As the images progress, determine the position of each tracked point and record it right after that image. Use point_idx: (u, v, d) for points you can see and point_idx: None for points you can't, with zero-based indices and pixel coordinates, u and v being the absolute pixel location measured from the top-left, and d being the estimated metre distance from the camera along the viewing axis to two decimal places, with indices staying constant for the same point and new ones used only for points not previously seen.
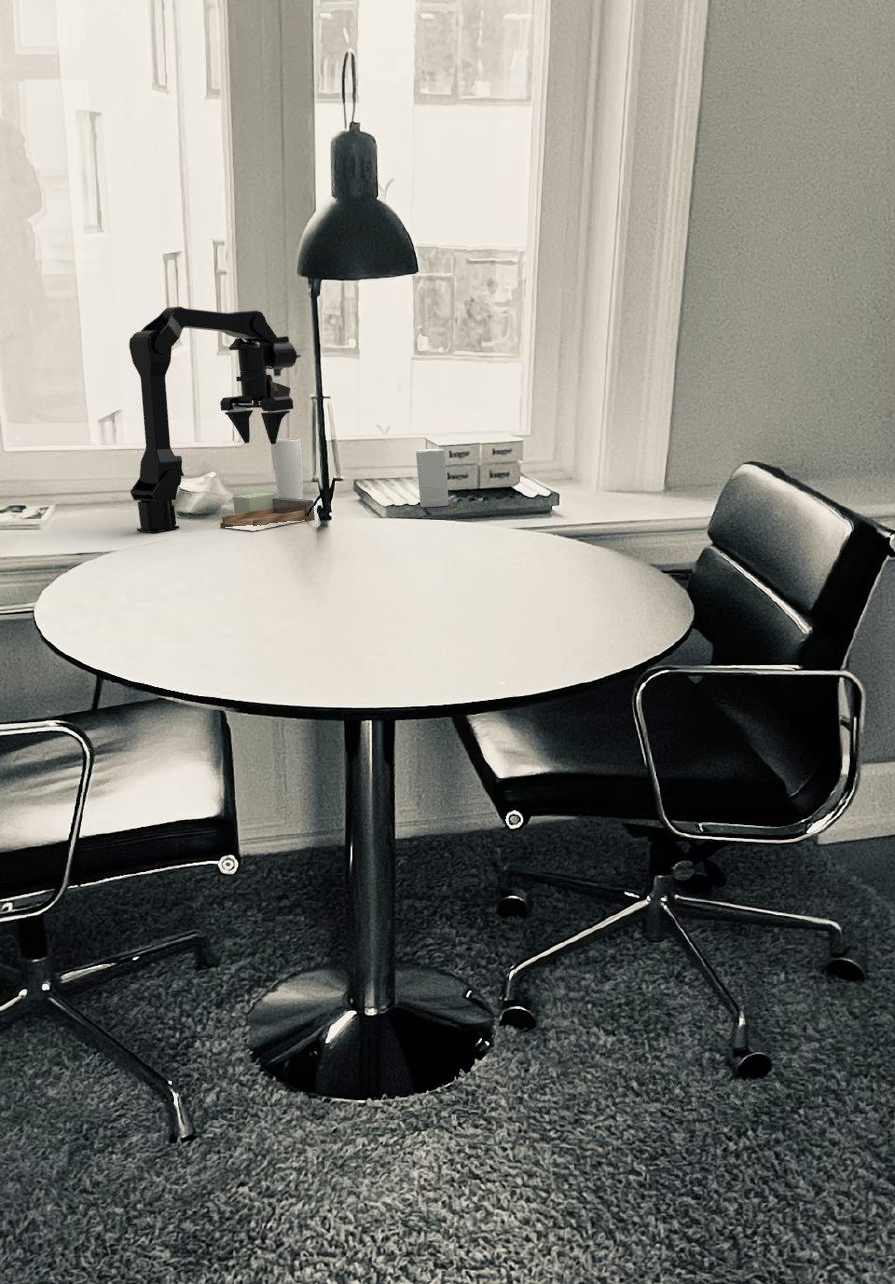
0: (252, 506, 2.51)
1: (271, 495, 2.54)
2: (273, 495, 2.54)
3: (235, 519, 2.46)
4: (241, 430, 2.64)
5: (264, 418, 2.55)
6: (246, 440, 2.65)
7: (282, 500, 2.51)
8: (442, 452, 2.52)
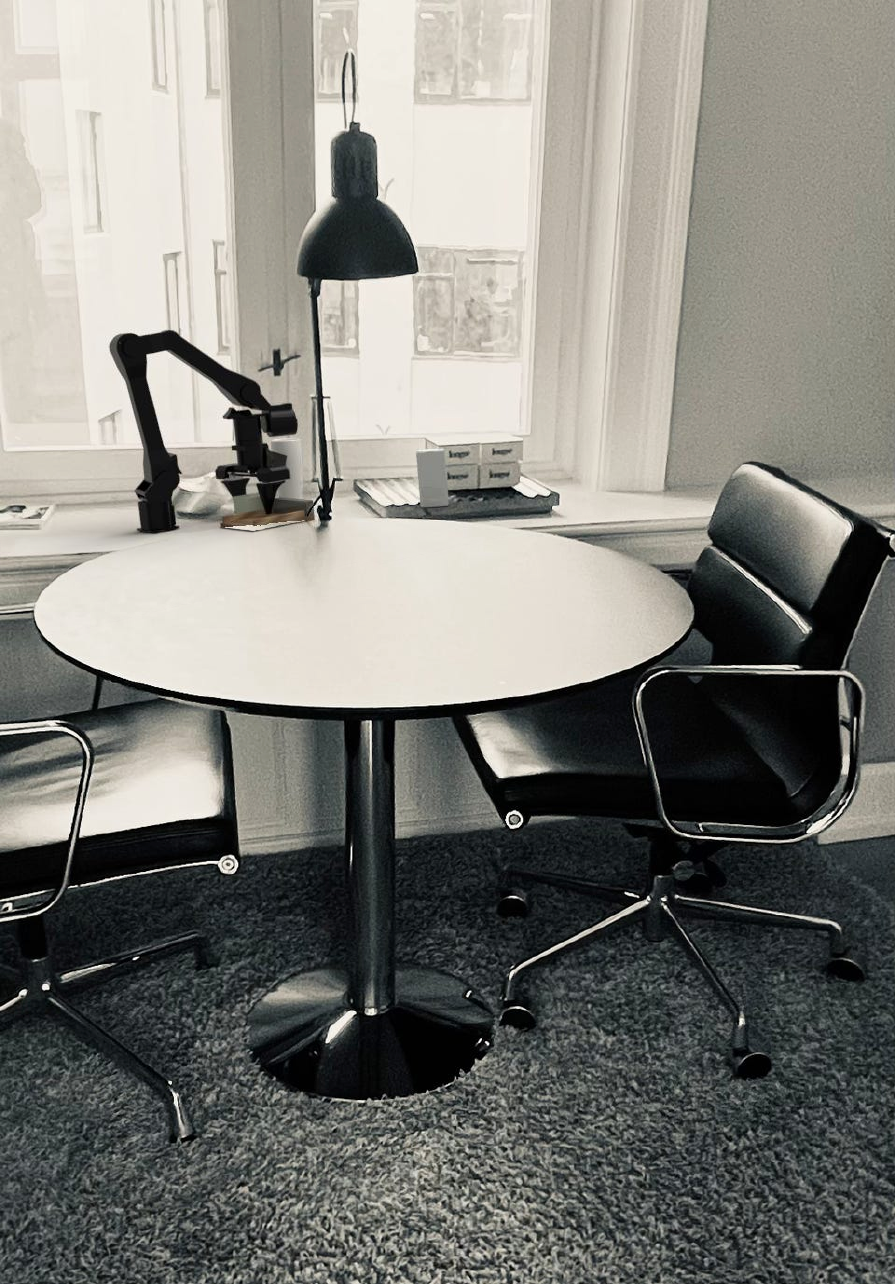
0: (251, 506, 2.51)
1: None
2: None
3: (235, 519, 2.46)
4: None
5: (260, 488, 2.48)
6: None
7: (282, 500, 2.51)
8: (442, 452, 2.52)
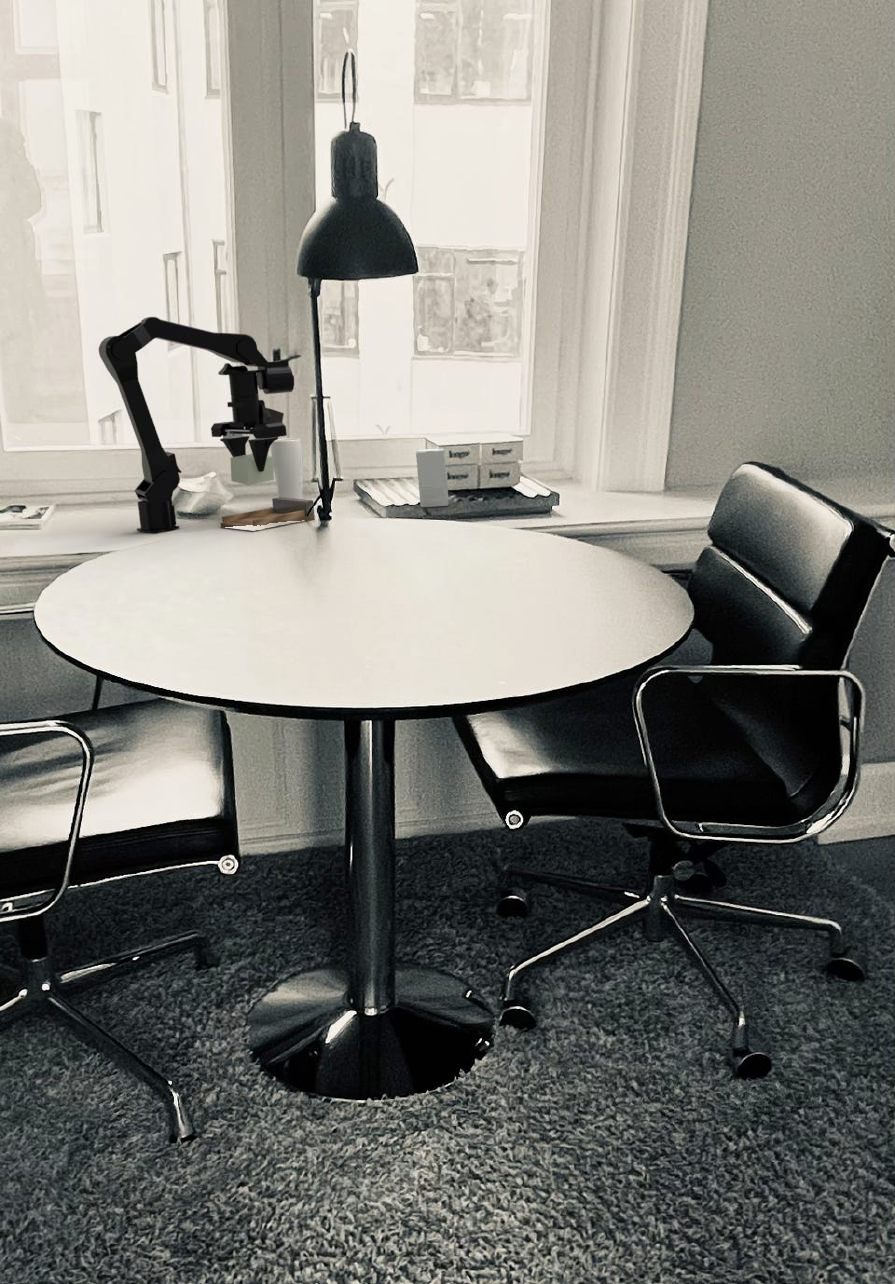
0: (250, 469, 2.49)
1: (269, 458, 2.52)
2: (271, 458, 2.53)
3: (235, 519, 2.46)
4: None
5: (252, 445, 2.47)
6: None
7: (282, 500, 2.51)
8: (442, 452, 2.52)
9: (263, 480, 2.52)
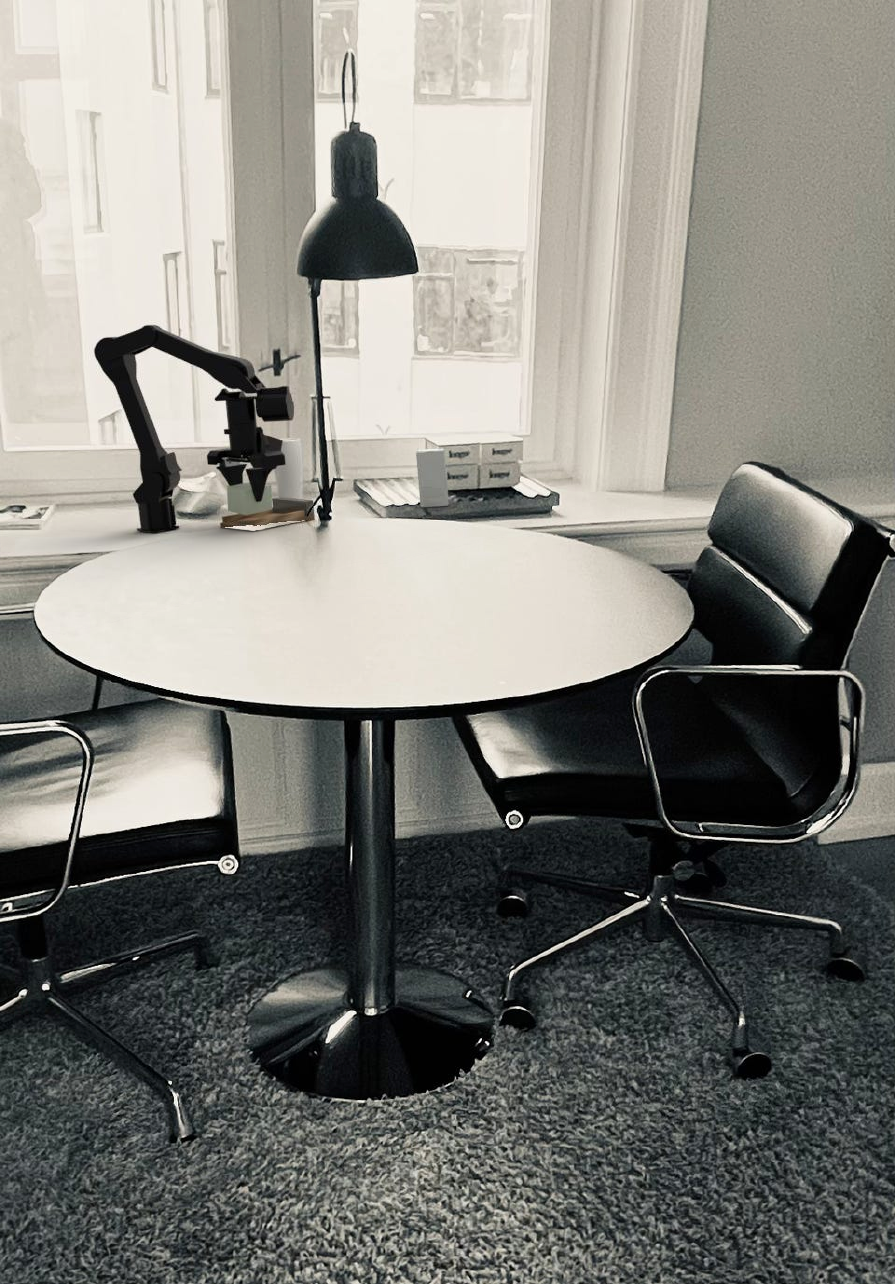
0: (247, 499, 2.38)
1: (267, 487, 2.42)
2: (269, 487, 2.42)
3: (235, 519, 2.46)
4: None
5: (249, 474, 2.36)
6: None
7: (282, 500, 2.51)
8: (442, 452, 2.52)
9: (261, 510, 2.42)
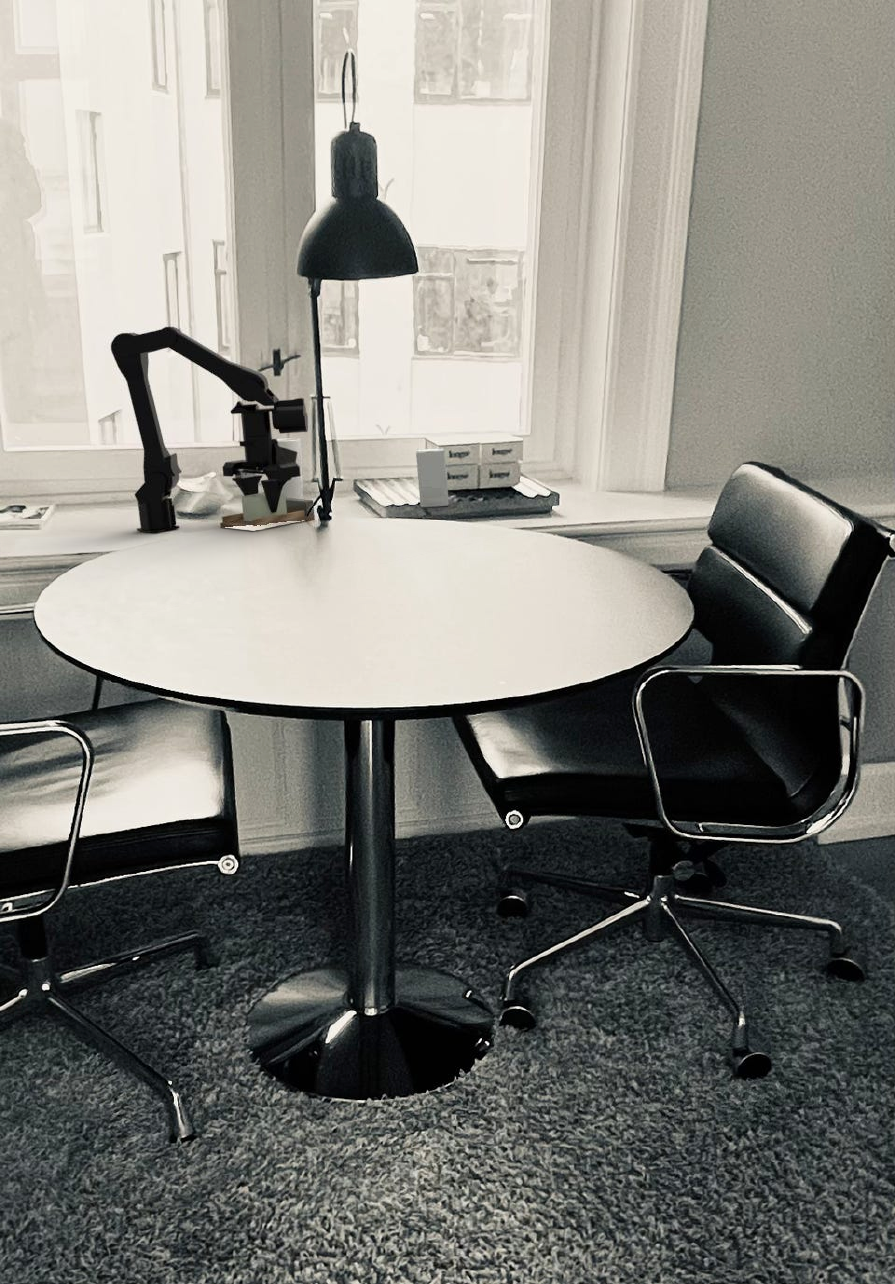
0: (261, 506, 2.41)
1: (281, 494, 2.44)
2: (283, 494, 2.45)
3: (235, 519, 2.46)
4: None
5: (264, 486, 2.39)
6: None
7: None
8: (442, 452, 2.52)
9: None
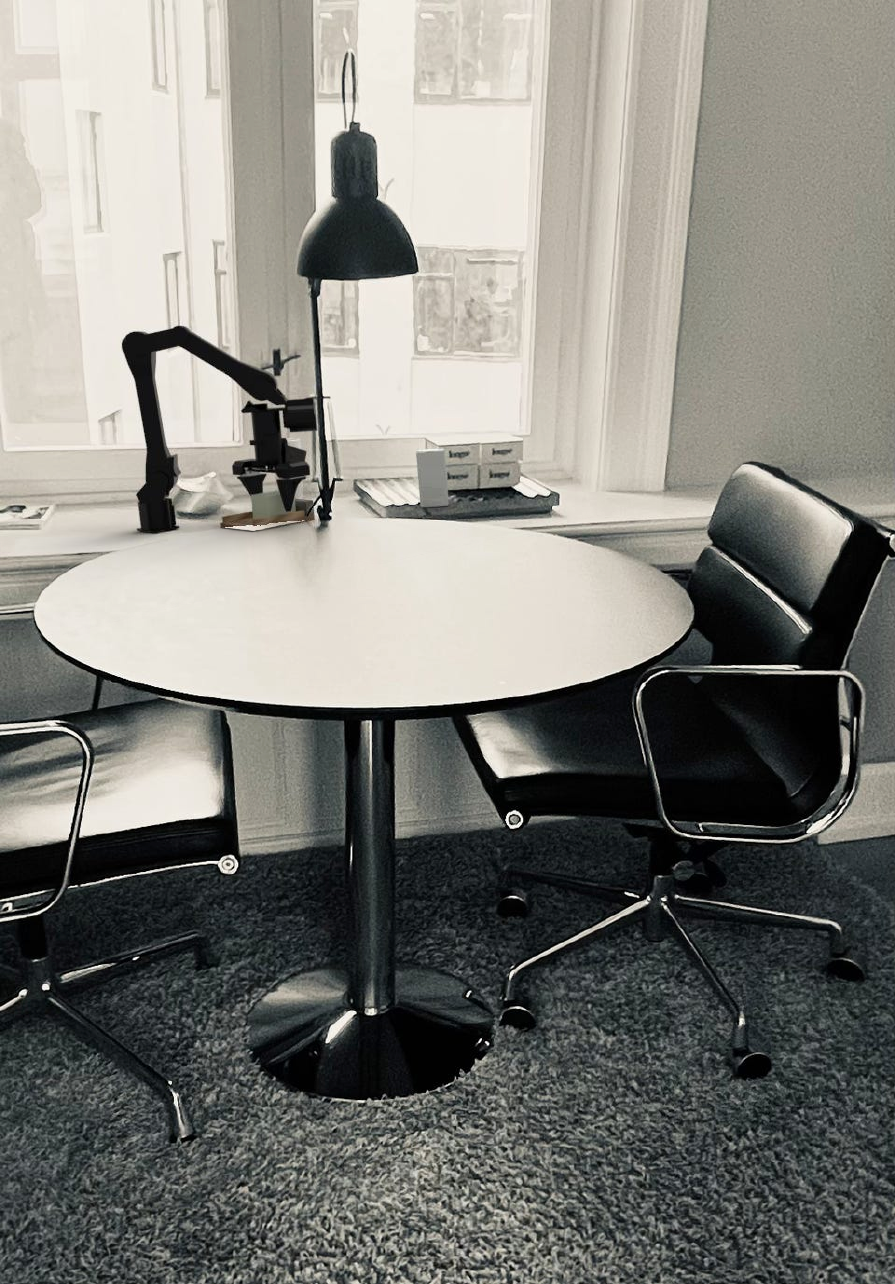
0: (271, 505, 2.43)
1: None
2: None
3: (235, 519, 2.46)
4: None
5: (279, 485, 2.40)
6: None
7: None
8: (442, 452, 2.52)
9: None
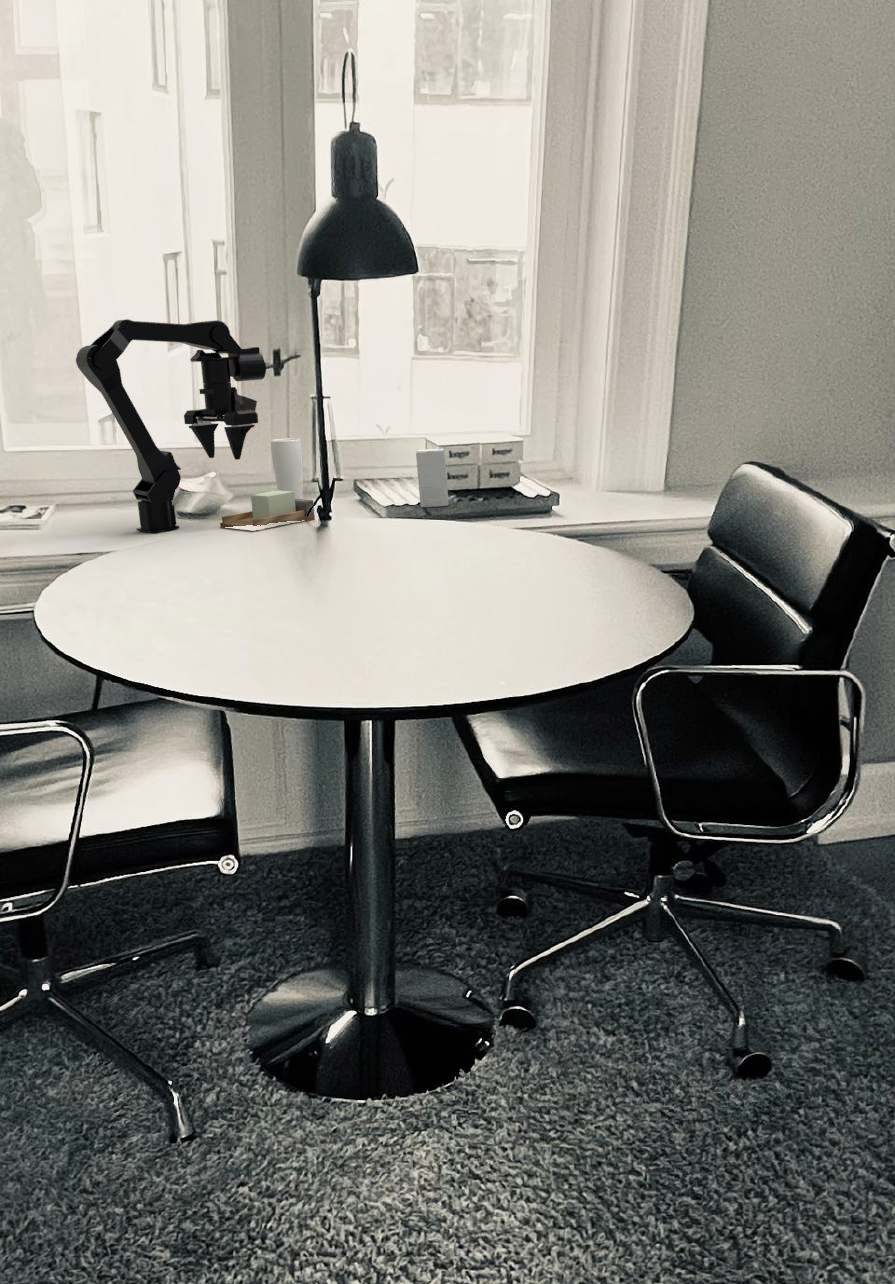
0: (271, 505, 2.43)
1: (290, 493, 2.46)
2: (292, 493, 2.47)
3: (235, 519, 2.46)
4: (205, 444, 2.53)
5: (228, 432, 2.44)
6: (211, 455, 2.54)
7: None
8: (442, 452, 2.52)
9: None
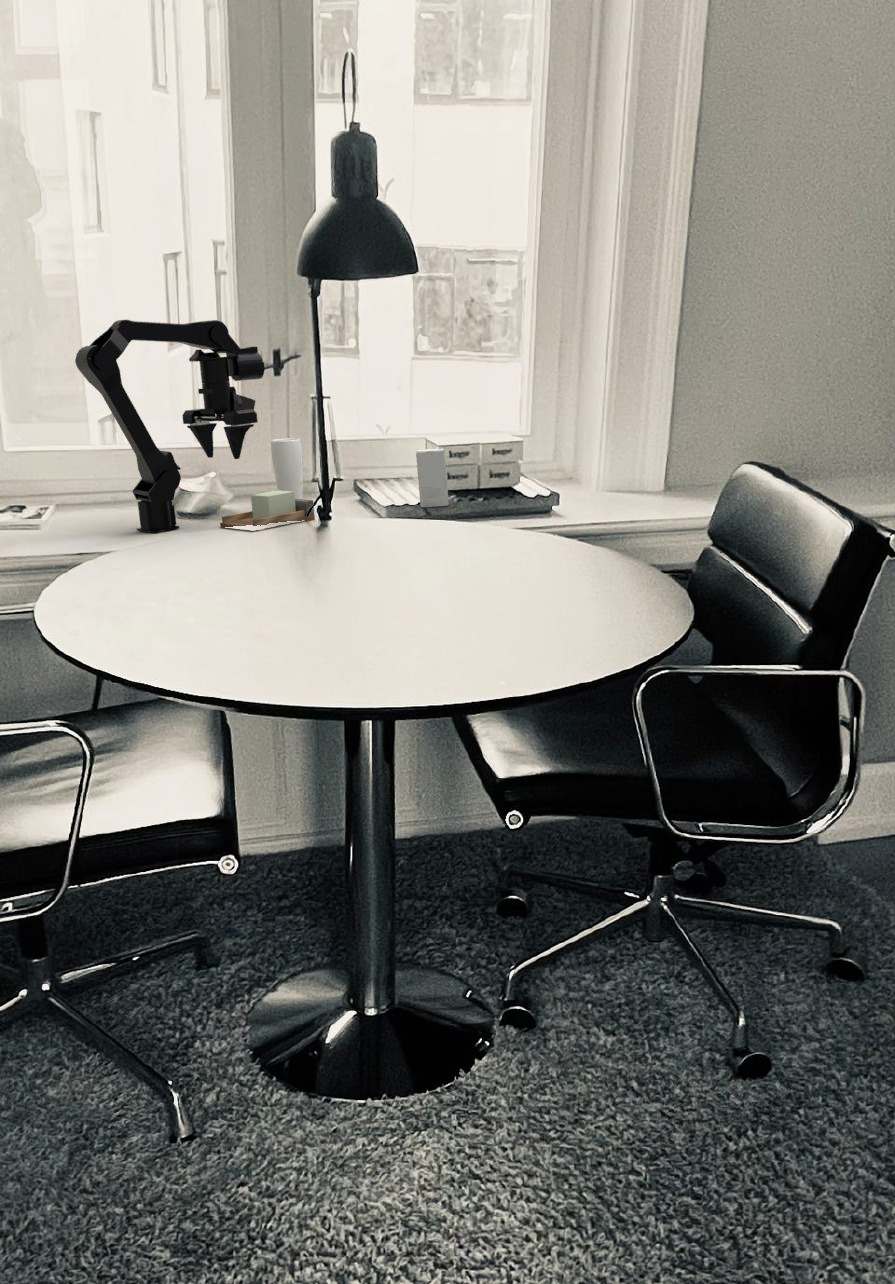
0: (271, 505, 2.43)
1: (290, 493, 2.46)
2: (292, 493, 2.47)
3: (235, 519, 2.46)
4: (204, 444, 2.53)
5: (227, 432, 2.45)
6: (209, 454, 2.54)
7: None
8: (442, 452, 2.52)
9: None
